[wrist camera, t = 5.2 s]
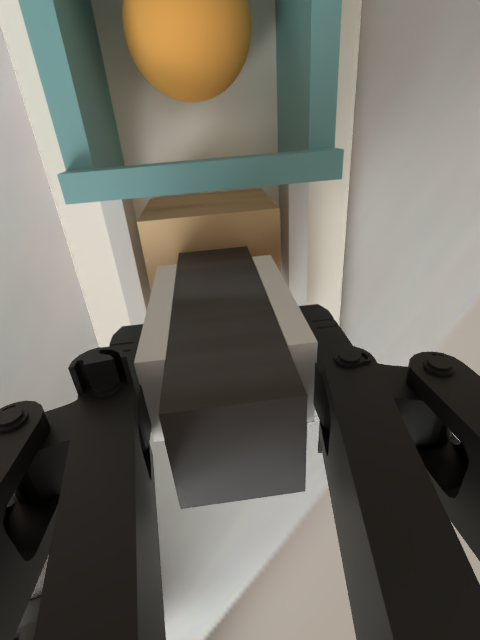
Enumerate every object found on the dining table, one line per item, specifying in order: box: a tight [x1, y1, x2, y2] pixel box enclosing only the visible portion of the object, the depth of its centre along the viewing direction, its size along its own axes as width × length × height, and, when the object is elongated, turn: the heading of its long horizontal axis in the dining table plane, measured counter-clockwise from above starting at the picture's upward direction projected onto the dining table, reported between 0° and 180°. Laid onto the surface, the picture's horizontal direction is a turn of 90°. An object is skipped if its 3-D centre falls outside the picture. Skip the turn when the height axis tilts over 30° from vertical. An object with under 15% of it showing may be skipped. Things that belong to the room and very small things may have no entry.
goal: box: [18, 0, 344, 205], centre depth 14 cm, size 9×10×7 cm
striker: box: [137, 189, 308, 509], centre depth 15 cm, size 6×6×15 cm
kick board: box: [0, 0, 362, 347], centre depth 21 cm, size 27×16×4 cm, turn 4°
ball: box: [122, 0, 251, 102], centre depth 15 cm, size 5×5×5 cm
